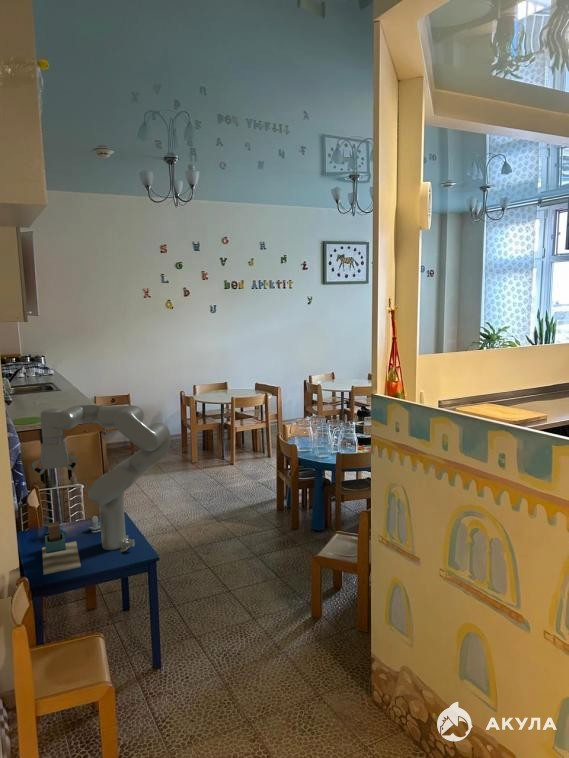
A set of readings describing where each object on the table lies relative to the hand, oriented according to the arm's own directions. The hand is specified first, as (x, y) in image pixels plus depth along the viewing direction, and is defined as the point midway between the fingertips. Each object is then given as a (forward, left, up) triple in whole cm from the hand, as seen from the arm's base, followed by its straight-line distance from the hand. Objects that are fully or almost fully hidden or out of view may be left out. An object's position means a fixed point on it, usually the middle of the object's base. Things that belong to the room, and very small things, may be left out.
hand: (56, 480), depth 229 cm
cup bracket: (-3, +9, -27) cm, 28 cm away
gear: (+9, -9, -29) cm, 31 cm away
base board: (-6, +11, -28) cm, 31 cm away
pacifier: (-6, -17, -29) cm, 34 cm away
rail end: (-5, +12, -22) cm, 26 cm away
